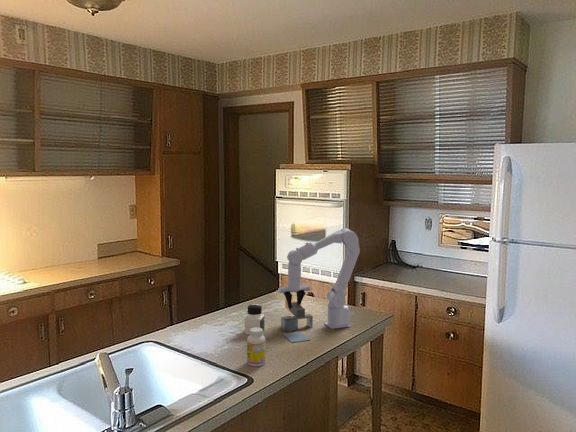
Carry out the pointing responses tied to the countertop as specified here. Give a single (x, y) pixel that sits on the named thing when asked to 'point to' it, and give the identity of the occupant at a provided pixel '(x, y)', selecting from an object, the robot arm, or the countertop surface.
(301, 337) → the mat
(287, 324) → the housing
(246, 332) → the medicine bottle
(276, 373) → the countertop surface
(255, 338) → the supplement bottle
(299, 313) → the plug
